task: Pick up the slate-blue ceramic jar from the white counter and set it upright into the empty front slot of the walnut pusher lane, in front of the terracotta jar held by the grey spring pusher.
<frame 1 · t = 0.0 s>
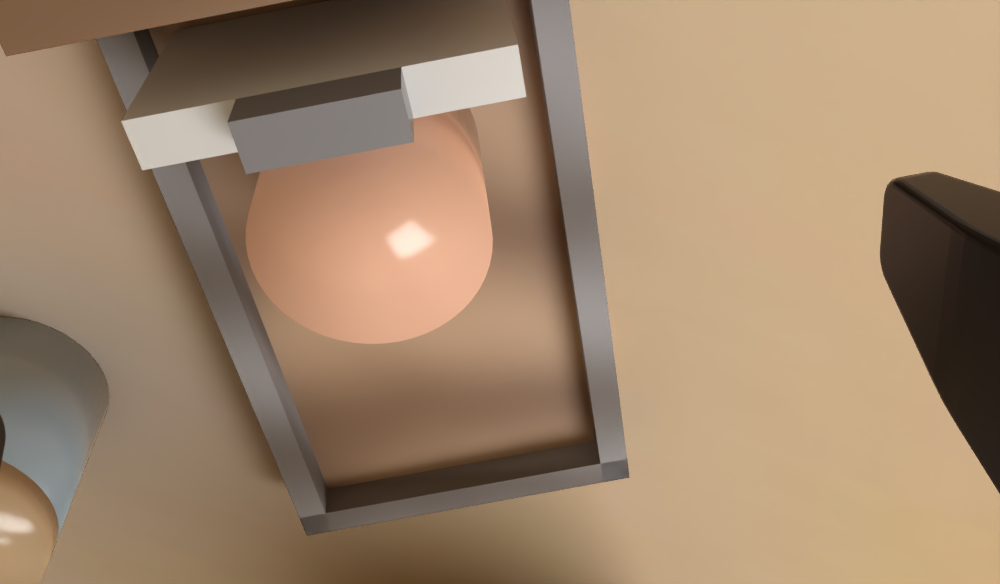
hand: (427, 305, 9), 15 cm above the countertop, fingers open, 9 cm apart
slate jar: (18, 386, 28), on the countertop
lane: (401, 223, 25), on the countertop
pusher: (332, 69, 19), point 4 cm above the countertop, slide at 0.0 cm
jar: (376, 149, 23), point 1 cm above the countertop, touching lane
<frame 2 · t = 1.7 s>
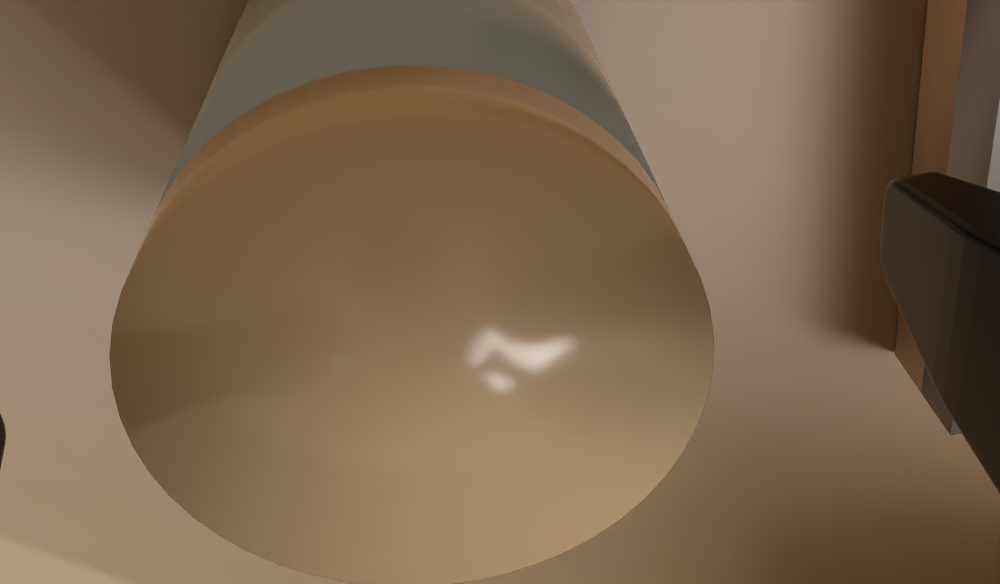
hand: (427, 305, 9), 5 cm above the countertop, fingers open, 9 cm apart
slate jar: (414, 106, 13), on the countertop
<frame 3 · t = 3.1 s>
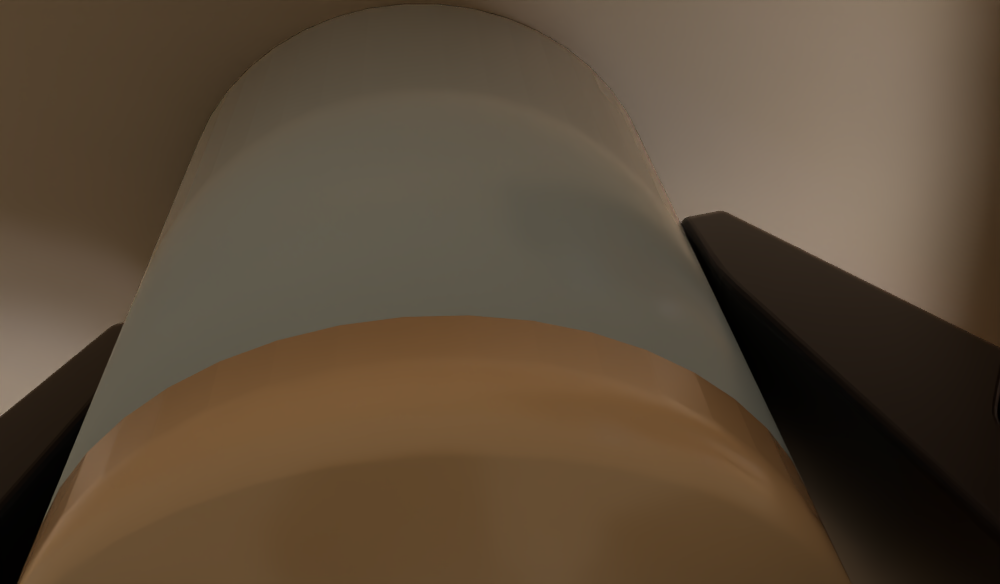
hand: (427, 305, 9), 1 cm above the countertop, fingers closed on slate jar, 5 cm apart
slate jar: (425, 233, 10), on the countertop, touching gripper
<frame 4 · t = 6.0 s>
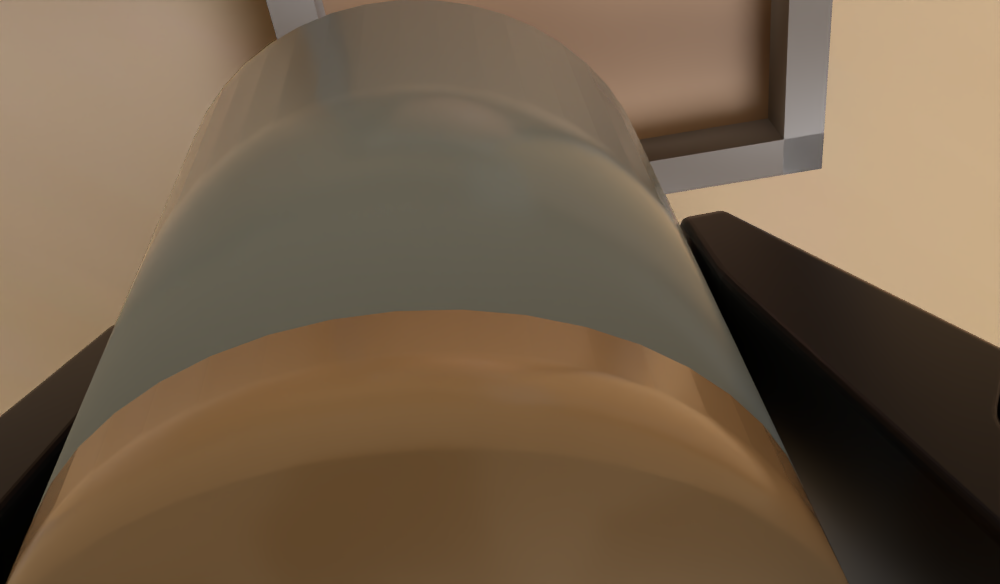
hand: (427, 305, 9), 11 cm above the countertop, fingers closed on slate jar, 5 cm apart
slate jar: (421, 230, 10), point 10 cm above the countertop, touching gripper
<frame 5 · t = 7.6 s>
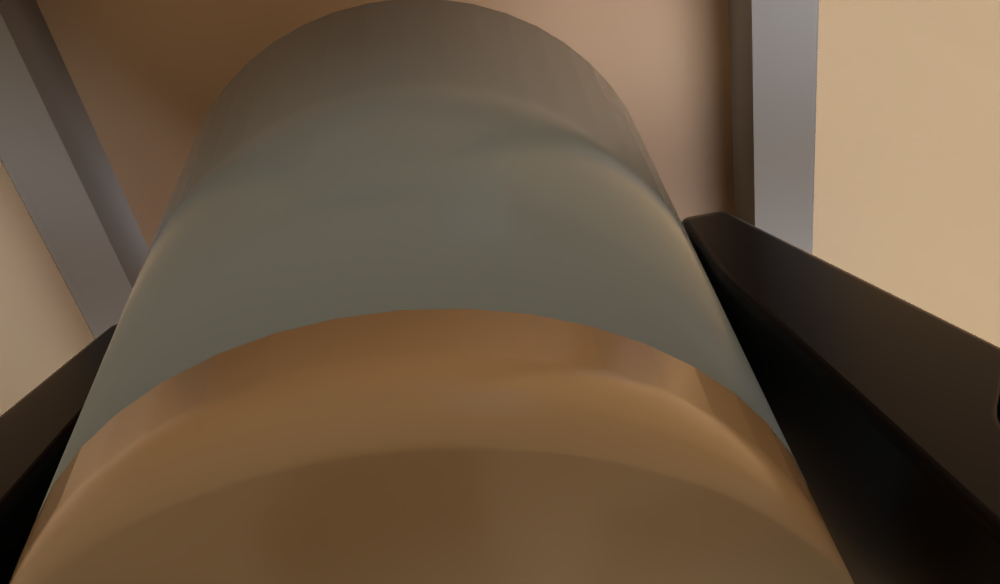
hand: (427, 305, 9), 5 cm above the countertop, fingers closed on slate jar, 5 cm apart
slate jar: (423, 230, 10), point 4 cm above the countertop, touching gripper
when the fingers open (3 cm above the countertop, at t = 8.9 s): slate jar stays where it is, resting on lane.
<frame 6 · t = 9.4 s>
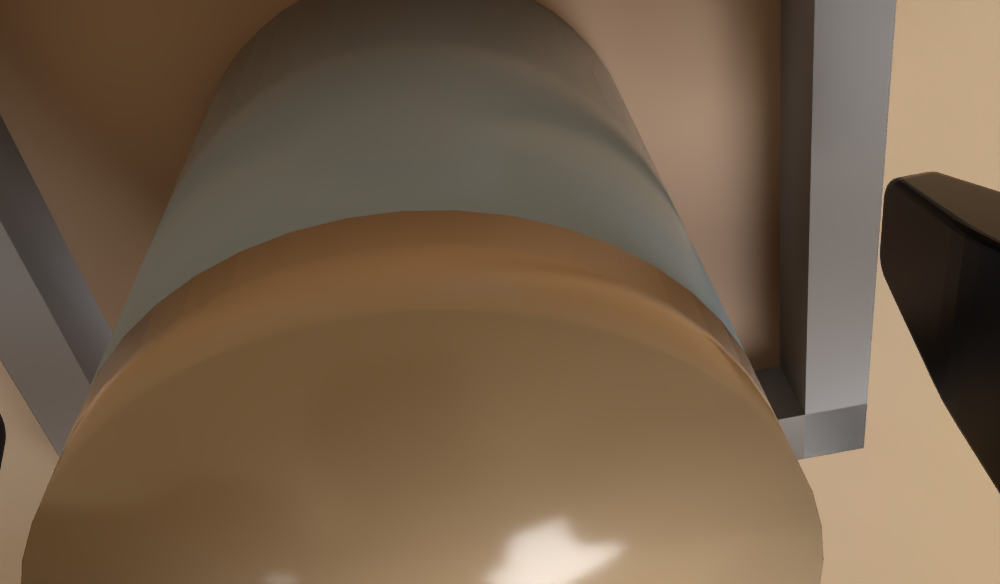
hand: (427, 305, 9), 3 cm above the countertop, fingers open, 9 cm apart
slate jar: (422, 188, 11), point 1 cm above the countertop, touching lane
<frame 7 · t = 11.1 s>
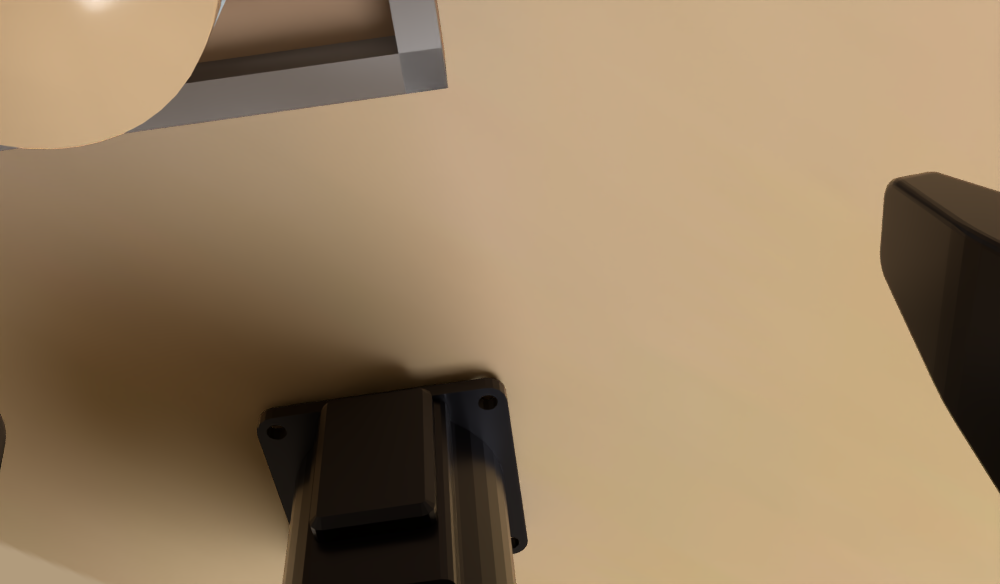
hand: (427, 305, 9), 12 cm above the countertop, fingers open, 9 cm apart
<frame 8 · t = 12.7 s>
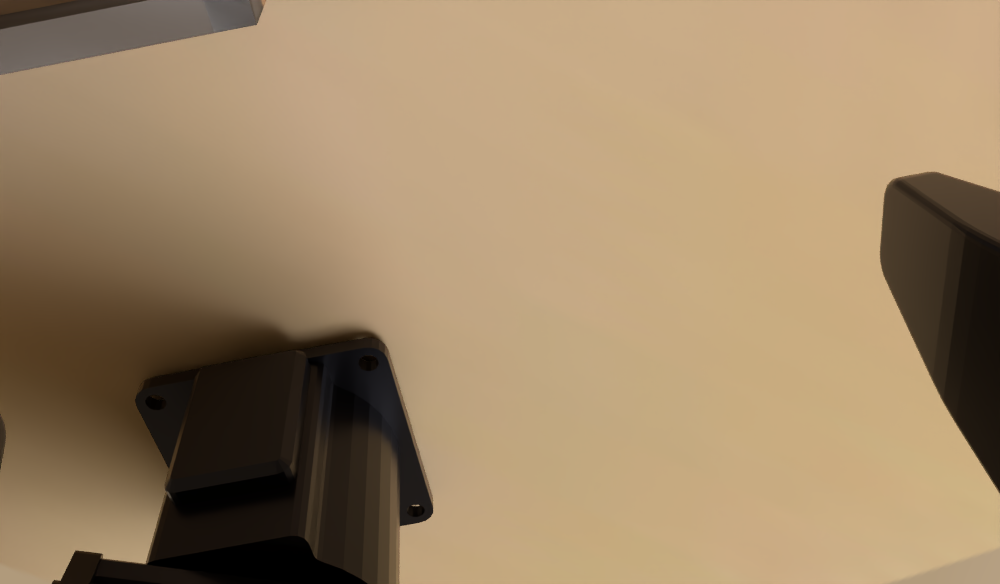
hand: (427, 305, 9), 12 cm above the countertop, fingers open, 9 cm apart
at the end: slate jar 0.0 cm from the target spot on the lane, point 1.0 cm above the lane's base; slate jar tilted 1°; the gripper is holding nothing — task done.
